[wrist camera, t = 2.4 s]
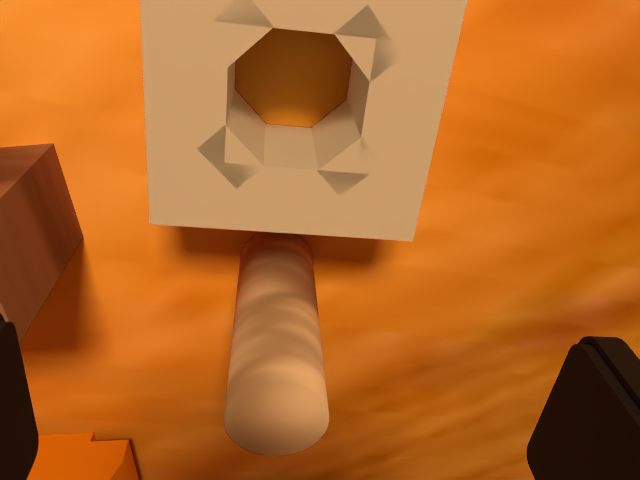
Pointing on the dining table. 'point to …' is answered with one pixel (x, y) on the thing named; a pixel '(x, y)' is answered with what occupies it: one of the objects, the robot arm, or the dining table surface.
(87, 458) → the bracket
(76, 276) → the dining table surface
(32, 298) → the walnut square bit
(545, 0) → the dining table surface
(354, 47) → the bore block
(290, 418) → the birch dowel
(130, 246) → the dining table surface
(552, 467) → the robot arm
